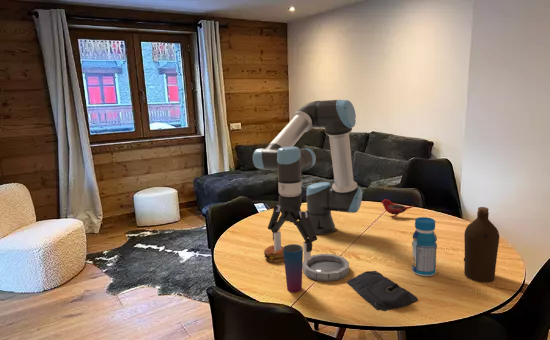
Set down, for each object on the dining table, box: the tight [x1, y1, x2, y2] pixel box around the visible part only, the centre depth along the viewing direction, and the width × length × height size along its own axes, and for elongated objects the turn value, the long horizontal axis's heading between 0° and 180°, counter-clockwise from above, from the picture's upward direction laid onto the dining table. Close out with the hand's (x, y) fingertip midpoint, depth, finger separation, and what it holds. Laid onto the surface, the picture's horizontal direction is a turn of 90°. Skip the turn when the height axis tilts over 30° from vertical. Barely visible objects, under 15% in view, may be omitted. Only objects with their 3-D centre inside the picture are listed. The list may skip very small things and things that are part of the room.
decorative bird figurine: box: [380, 198, 416, 218], centre depth 199 cm, size 3×18×10 cm, turn 82°
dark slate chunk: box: [346, 270, 418, 312], centre depth 125 cm, size 15×22×5 cm
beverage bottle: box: [411, 216, 438, 277], centre depth 136 cm, size 8×8×20 cm
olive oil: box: [463, 206, 500, 283], centre depth 131 cm, size 11×11×25 cm
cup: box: [283, 243, 304, 293], centre depth 129 cm, size 7×7×15 cm
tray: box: [302, 253, 350, 282], centre depth 142 cm, size 17×17×3 cm
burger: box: [263, 244, 284, 264], centre depth 156 cm, size 10×9×5 cm
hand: (292, 255), depth 128 cm, fingers open, 13 cm apart
